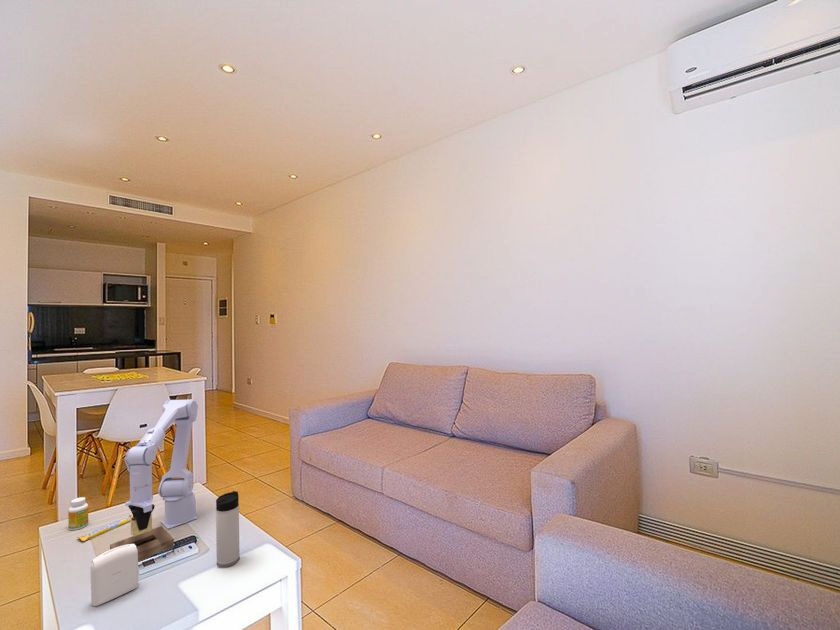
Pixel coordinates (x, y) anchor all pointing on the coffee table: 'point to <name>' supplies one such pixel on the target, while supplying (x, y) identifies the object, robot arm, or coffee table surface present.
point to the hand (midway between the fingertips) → (141, 527)
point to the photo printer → (114, 573)
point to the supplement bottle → (78, 514)
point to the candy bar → (105, 528)
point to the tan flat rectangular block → (135, 529)
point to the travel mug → (227, 529)
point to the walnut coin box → (148, 542)
